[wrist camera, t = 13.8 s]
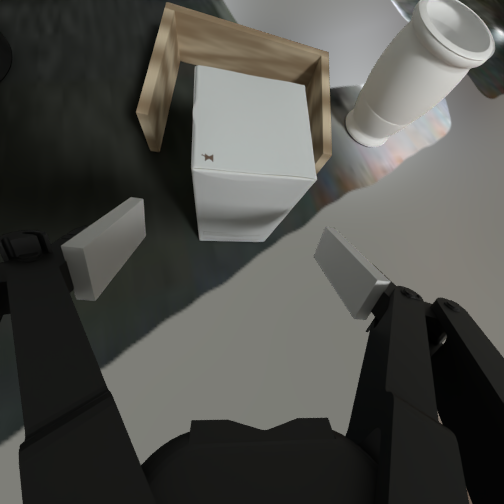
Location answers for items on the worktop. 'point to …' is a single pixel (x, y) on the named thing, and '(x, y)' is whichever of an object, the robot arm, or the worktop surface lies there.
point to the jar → (419, 69)
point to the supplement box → (248, 153)
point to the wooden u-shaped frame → (232, 69)
